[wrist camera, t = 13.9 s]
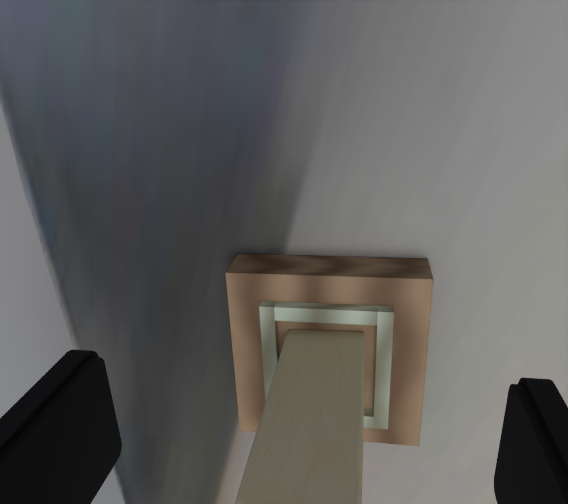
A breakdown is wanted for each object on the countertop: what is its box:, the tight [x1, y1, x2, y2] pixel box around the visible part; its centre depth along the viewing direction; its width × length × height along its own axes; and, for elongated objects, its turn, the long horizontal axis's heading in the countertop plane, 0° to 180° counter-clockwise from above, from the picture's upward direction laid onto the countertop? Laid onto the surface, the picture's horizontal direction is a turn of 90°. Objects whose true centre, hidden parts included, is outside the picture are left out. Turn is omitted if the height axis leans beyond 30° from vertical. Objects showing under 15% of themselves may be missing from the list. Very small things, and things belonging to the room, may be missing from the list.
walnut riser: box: [226, 254, 433, 446], centre depth 52 cm, size 20×20×6 cm
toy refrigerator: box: [235, 330, 365, 504], centre depth 40 cm, size 8×7×21 cm
